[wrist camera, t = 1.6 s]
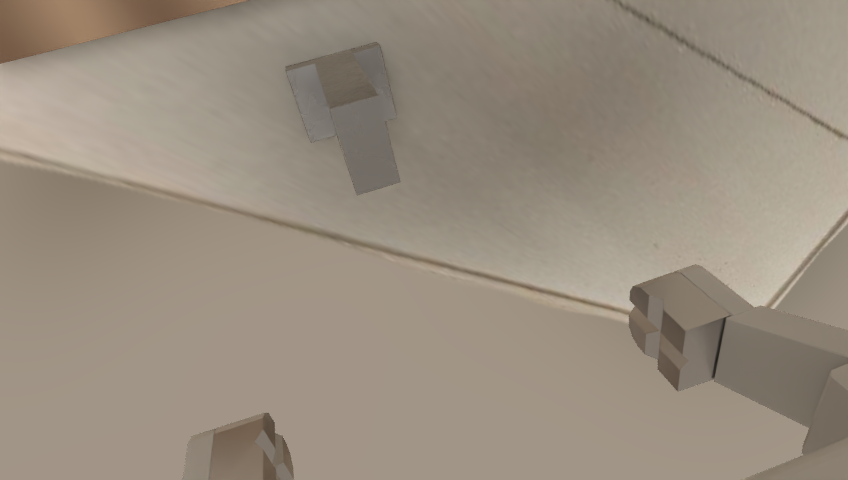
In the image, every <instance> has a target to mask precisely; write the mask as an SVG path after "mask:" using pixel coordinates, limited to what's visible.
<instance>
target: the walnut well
mask: <svg viewBox="0 0 848 480" xmlns="http://www.w3.org/2000/svg"><path fill="white" fill-rule="evenodd" d="M244 1H248V0H0V64H1V63H5V62H9V61H13V60H17V59H21V58H24V57H28V56H32V55H36V54H40V53H44V52H48V51H52V50H56V49H60V48H64V47H67V46H71V45H75V44H79V43H83V42H87V41H91V40H95V39H99V38H103V37H107V36H111V35H114V34H118V33H122V32H126V31H130V30H134V29H138V28H142V27H146V26H150V25H154V24H158V23H161V22H165V21H169V20H173V19H177V18H181V17H185V16H189V15H193V14H197V13H201V12H204V11H208V10H212V9H216V8H220V7H224V6H228V5H232V4H236V3H240V2H244Z"/></svg>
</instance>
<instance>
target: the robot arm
mask: <svg viewBox="0 0 848 480" xmlns="http://www.w3.org/2000/svg"><path fill="white" fill-rule="evenodd" d="M630 301H631V302H632V303H633V304H634V305H635V307H634V308H633V310H632V311H631V313H630V314H629V328H630V331H631V334H632V337H633V339H634V340H635V342H636V344H637V346H638V347H639V348H640V349H641V350H642V352H643V353H644V354H646V355H648V356H650V357H653V358H655V359H658V370H659V371H660V372H661V373H662V374H663V375H664V377H665V378H666V379H667V380H668V381H669V382H670V383H671V385H673V387H674V388H675V389H676V390H677V391H681V390H684V389H687V388H689V387H692V386H695V385H698V384H701V383H704V382H707V381H710V380H713V379H714V382H717V383H719V384H721V385H723V386H725V387H727V388H729V389H731V390H733V391H735V392H737V393H739V394H741V395H743V396H745V397H747V398H749V399H751V400H753V401H755V402H758V403H759V404H761V405H763V406H765V407H767V408H769V409H771V410H774V411H776V412H778V413H780V414H782V415H784V416H786V417H788V418H790V419H792V420H794V421H796V422H798V423H800V424H802V425H804V426H806V427H808V428H809V430H808V433H807V436H806V438H805V441H804V444H803V449H802V453H803V456H800V457H798V458H795V459H793V460H790V461H788V462H785V463H783V464H780V465H778V466H775V467H773V468H770V469H768V470H765V471H763V472H760V473H757V474H755V475H752V476H750V477H747V478H745V479H742V480H848V330H845V329H842V328H838V327H835V326H831V325H828V324H824V323H821V322H817V321H814V320H810V319H807V318H803V317H799V316H796V315H792V314H789V313H785V312H781V311H778V310H775V309H771V308H768V307H764V306H758V307H755V308H754V307H753V306H752V305H751V304H749V303H748V302H747V301H746V300H744V299H743V298H742V297H740V296H739V295H738V294H737V293H735V292H734V291H733V290H731V289H730V288H729V287H728V286H726V285H725V284H724V283H723V282H721V281H720V280H719V279H717V278H716V277H715V276H714V275H712V274H711V273H710V272H708V271H707V270H706V269H705V268H703V267H702V266H699V265H696V264H695V265H692V266H689V267H686V268H683V269H680V270H678V271H675V272H673V273H669V274H666V275H663V276H660V277H657V278H655V279H652V280H649V281H646V282H643V283H640V284H638V285H635V286H633V287H632V289H631V291H630ZM182 480H294V474H293V465H292V460H291V455H290V452H289V449H288V447H287V444H286V442H285V440H284V438H283V436H281V435H279V434H276V433H275V423H274V421H273V419H272V418H271V416H270V414H269V413H262V414H259V415H256V416H253V417H249V418H246V419H243V420H240V421H237V422H234V423H230V424H227V425H224V426H221V427H218V428H216V429H213V430H210V431H206V432H203V433H200V434H197V435H194V436H192V437H191V439H190V441H189V443H188V445H187V452H186V459H185V465H184V472H183V479H182Z"/></svg>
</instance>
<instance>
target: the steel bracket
mask: <svg viewBox="0 0 848 480" xmlns="http://www.w3.org/2000/svg"><path fill="white" fill-rule="evenodd" d="M286 73H287V76H288V78H289V81H290V84H291V87H292V90H293V93H294V96H295V99H296V102H297V104H298V107H299V110H300V113H301V116H302V119H303V122H304V125H305V128H306V130H307V133H308V136H309V139H310V142H311V143H312V142H315V141H319V140H322V139H326V138H329V137H333V136H336V135H337V137H338V140H339V143H340V146H341V149H342V152H343V155H344V158H345V161H346V164H347V167H348V170H349V173H350V176H351V179H352V182H353V185H354V188H355V191H356V194H357V195H360V194H363V193H366V192H370V191H373V190H376V189H379V188H383V187H386V186H389V185H393V184H396V183H399V182H400V178H399V175H398V171H397V167H396V163H395V159H394V155H393V151H392V147H391V143H390V139H389V135H388V131H387V127H386V123H385V121H388V120H392V119H395V118H397V116H396V112H395V107H394V103H393V99H392V95H391V90H390V86H389V82H388V78H387V73H386V69H385V65H384V61H383V56H382V52H381V48H380V45H379V44H378V43H377V42H375V43H371V44H368V45H364V46H360V47H357V48H353V49H349V50H345V51H342V52H338V53H334V54H331V55H327V56H323V57H320V58H316V59H312V60H309V61H305V62H301V63H298V64H294V65H290V66H286Z"/></svg>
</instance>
